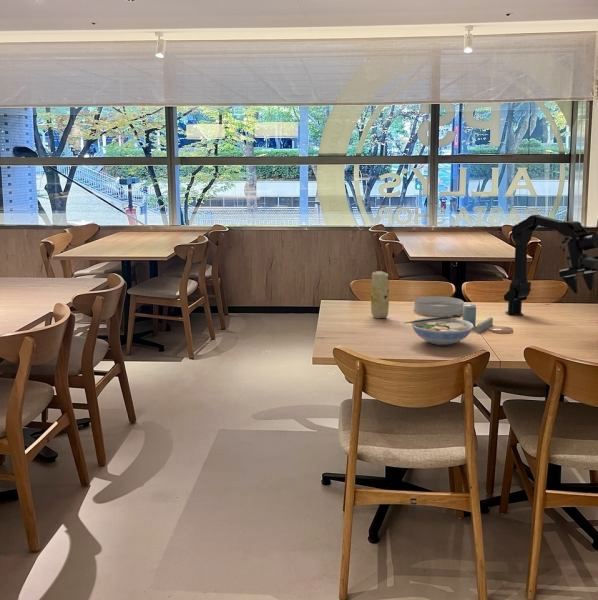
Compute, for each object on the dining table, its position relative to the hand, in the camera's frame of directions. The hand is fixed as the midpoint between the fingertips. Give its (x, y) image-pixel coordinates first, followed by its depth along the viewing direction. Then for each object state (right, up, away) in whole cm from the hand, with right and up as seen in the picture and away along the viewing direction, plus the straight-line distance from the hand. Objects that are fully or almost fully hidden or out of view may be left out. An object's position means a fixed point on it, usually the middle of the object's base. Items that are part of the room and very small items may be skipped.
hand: (583, 291), depth 267 cm
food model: (-77, -11, +28) cm, 83 cm away
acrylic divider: (-37, -15, +6) cm, 41 cm away
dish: (-49, -9, +39) cm, 63 cm away
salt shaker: (-43, -14, +9) cm, 46 cm away
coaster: (-32, -15, +2) cm, 36 cm away
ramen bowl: (-59, -19, -16) cm, 64 cm away
